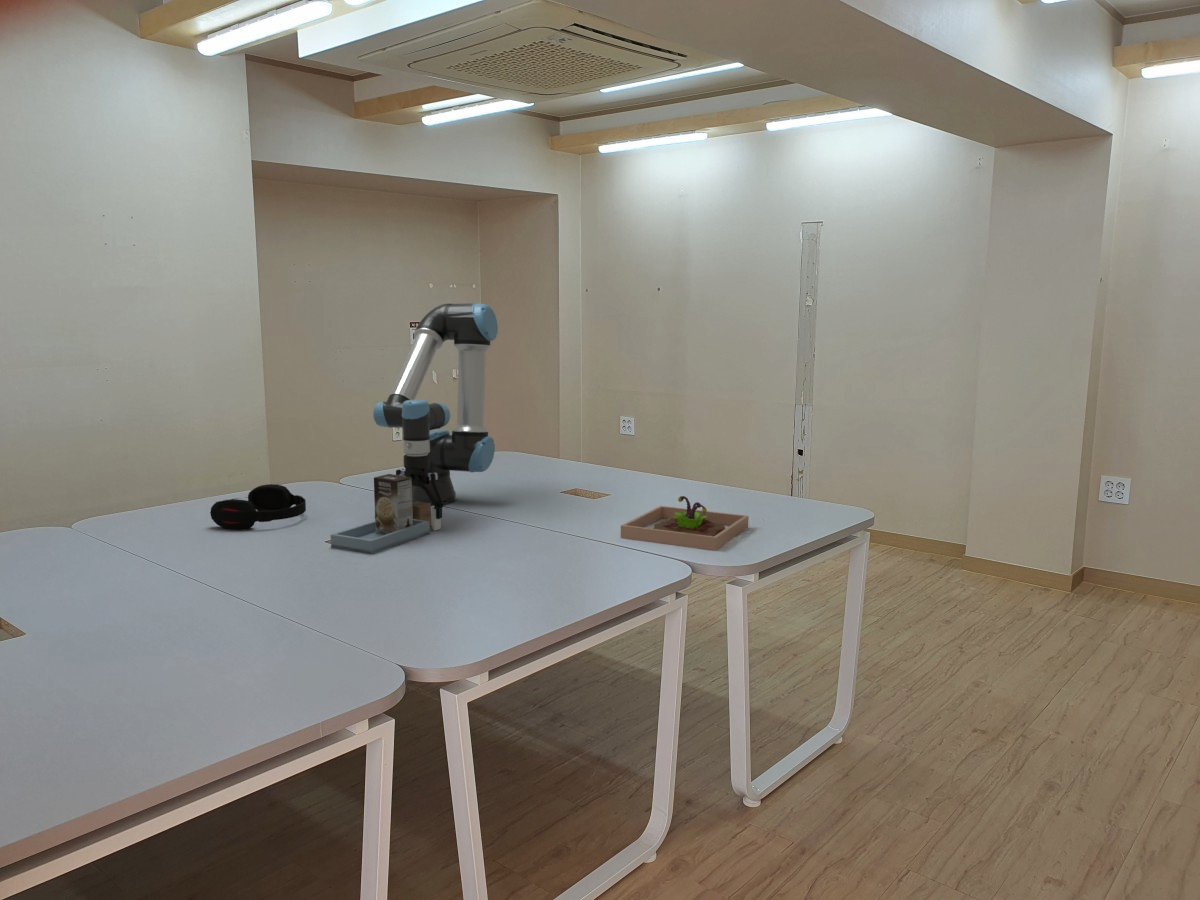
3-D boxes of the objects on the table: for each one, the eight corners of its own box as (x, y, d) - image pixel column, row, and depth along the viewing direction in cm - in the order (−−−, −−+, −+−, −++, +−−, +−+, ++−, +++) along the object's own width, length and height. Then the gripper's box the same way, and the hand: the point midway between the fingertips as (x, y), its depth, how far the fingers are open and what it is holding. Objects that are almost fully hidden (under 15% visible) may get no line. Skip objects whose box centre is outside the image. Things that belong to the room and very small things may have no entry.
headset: (217, 512, 272) (215, 485, 271) (306, 506, 281) (304, 480, 279) (208, 534, 246) (206, 504, 245) (306, 527, 254) (305, 498, 253)
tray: (331, 547, 233) (330, 534, 232) (391, 527, 254) (390, 515, 253) (371, 554, 226) (371, 541, 226) (429, 533, 247) (429, 521, 247)
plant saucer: (620, 537, 243) (620, 525, 243) (660, 516, 268) (660, 505, 267) (715, 550, 231) (716, 537, 230) (748, 527, 255) (748, 515, 255)
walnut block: (406, 528, 253) (405, 504, 252) (417, 524, 257) (417, 501, 256) (420, 530, 251) (419, 506, 250) (431, 526, 255) (430, 503, 254)
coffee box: (374, 533, 244) (371, 477, 241) (390, 528, 249) (388, 473, 247) (398, 538, 239) (396, 480, 237) (414, 533, 245) (412, 476, 242)
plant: (671, 523, 262) (672, 486, 260) (733, 531, 252) (734, 493, 250) (641, 538, 244) (642, 499, 243) (706, 547, 235) (707, 507, 233)
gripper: (374, 452, 253) (377, 524, 256) (443, 459, 242) (445, 534, 245) (392, 449, 259) (394, 519, 263) (459, 455, 248) (460, 528, 252)
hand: (418, 526), depth 254 cm, fingers open, 12 cm apart
